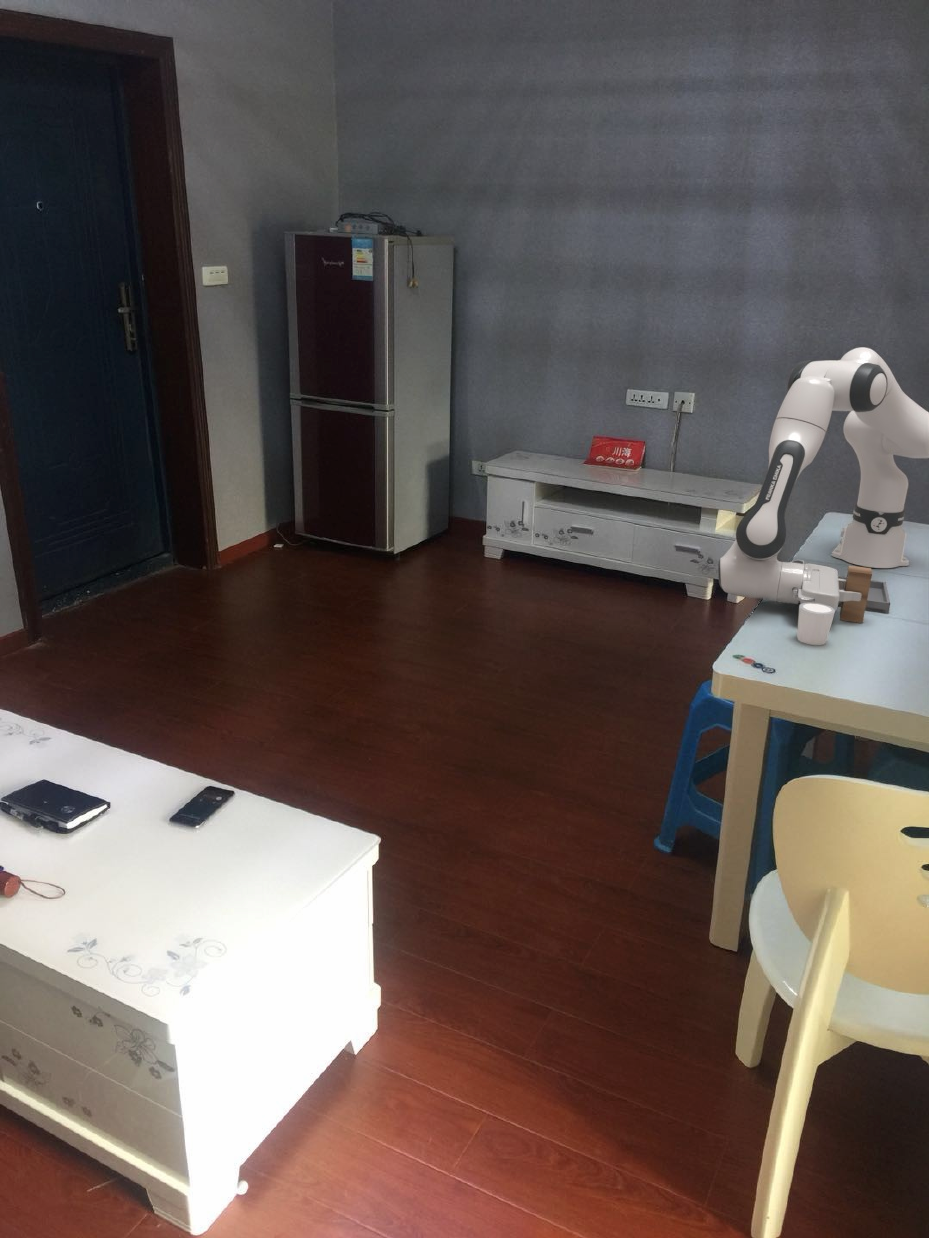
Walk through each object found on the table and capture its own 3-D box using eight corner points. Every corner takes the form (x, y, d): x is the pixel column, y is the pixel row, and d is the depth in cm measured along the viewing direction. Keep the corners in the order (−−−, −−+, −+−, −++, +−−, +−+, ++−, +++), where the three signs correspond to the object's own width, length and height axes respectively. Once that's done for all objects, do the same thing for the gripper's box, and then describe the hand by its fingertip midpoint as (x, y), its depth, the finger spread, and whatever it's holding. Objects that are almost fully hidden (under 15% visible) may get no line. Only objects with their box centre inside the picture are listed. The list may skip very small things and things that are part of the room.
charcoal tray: (821, 583, 231) (822, 574, 230) (883, 591, 227) (885, 582, 226) (821, 604, 217) (823, 594, 216) (888, 613, 213) (890, 603, 212)
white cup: (829, 636, 198) (835, 604, 196) (829, 648, 192) (835, 615, 189) (794, 631, 200) (799, 600, 198) (793, 643, 194) (799, 610, 191)
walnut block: (839, 613, 211) (848, 565, 208) (861, 616, 210) (871, 568, 206) (840, 619, 207) (849, 571, 204) (862, 623, 206) (872, 574, 202)
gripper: (794, 583, 200) (865, 593, 196) (796, 557, 218) (861, 565, 214) (789, 612, 202) (859, 622, 198) (791, 583, 220) (856, 592, 216)
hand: (860, 592), depth 206 cm, fingers closed on walnut block, 4 cm apart
